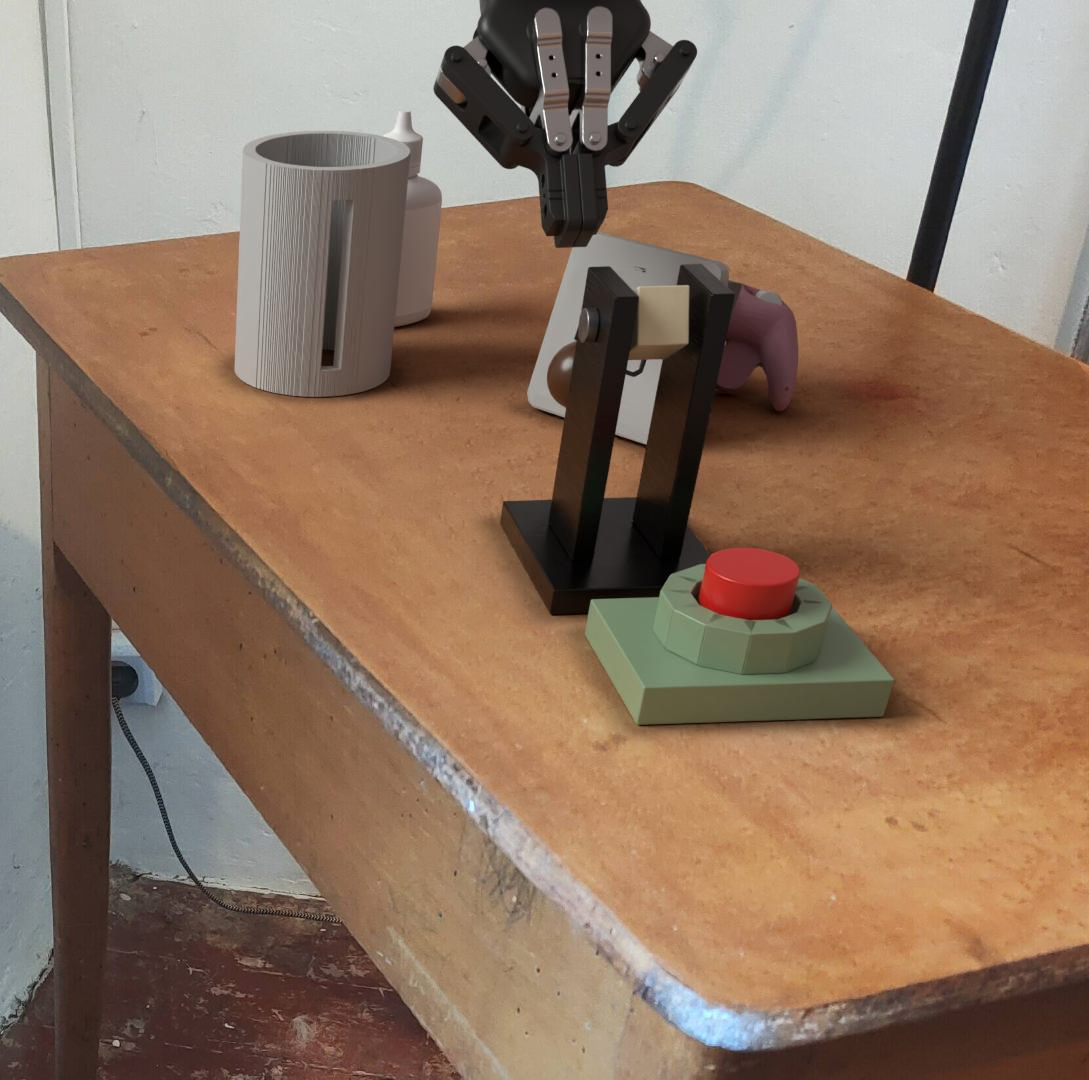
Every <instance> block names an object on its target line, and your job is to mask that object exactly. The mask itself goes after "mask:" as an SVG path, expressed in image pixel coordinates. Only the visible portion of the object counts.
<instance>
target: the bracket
mask: <svg viewBox="0 0 1089 1080" xmlns="http://www.w3.org/2000/svg"><path fill="white" fill-rule="evenodd" d="M677 285H689V287H690V291H689V343H688V345H686V346H684V347H683V348H681V349H680V350H678V351H677V352H675V353H674V354H672V355H671V356H669V357H668V358H666V359H663V360H662V365H661V370H660V376H659V381H658V386H657V391H656V397H655V402H654V407H653V413H652V418H651V423H650V429H649V434H648V439H647V445H646V444H645V449H644V450H645V451H644V455H643V456H644V457H643V461H642V467H641V472H640V477H639V482H638V488H637V492H636V496H629V497H626V496H625V497H605V494H606V489H607V482H608V478H609V472H610V466H611V460H612V454H613V449H614V444H615V438H616V434H615V432H616V427H617V421H618V415H619V410H620V404H621V398H622V393H623V387H624V381H625V375H626V370H627V364H628V358H629V353H630V347H631V341H632V336H633V330H634V324H635V319H636V313H637V307H638V302H639V296H638V295H637V294H636V293H635V292H634V291H633V290H632V289H631V288H630V287H629V286H628V285H627V284H626V283H625V281H624V280H623V279H622V278H621V277H620V276H619V275H618V274H617V273H616V272H615V271H614V270H613V269H612V268H611V267H610V266H604V267H589V268H588V272H587V278H586V284H585V291H584V297H583V304H582V310H581V314H580V318H579V325H578V335H577V342H576V348H575V355H574V361H573V367H572V374H571V380H570V387H569V393H568V399H567V406H566V412H565V417H564V420H563V426H562V432H561V438H560V444H559V445H560V446H559V450H558V458H557V466H556V470H555V476H554V483H553V488H552V489H553V490H552V495H551V496H552V497H551V499H530V500H529V499H527V500H503V501H502V505H501V515H500V521H499V525H500V526H501V528H502V530H503V532H504V533H505V535H506V538H507V540H508V541H509V543H510V544H511V546H512V549H513V550H514V552H515V554H516V556H517V558H518V559H519V561H520V563H521V564H522V566H523V568H524V570H525V572H526V573H527V575H528V577H529V579H530V581H531V582H532V584H533V586H534V588H535V590H536V592H537V593H538V595H539V598H540V600H541V601H542V602H543V604H544V606H545V608H546V610H547V611H548V613H549V615H577V614H581V615H582V614H588V613H589V607H590V602H591V600H592V599H618V598H650V597H659V595H660V591H661V589H662V588H663V586H664V584H665V583H666V581H667V579H668V578H669V576H670V575H671V574H673V573H676V572H679V571H682V570H685V569H688V568H691V567H694V566H697V565H700V564H706V562H707V559H708V558H709V557H710V556H711V555H712V554H711V553H710V552H709V550H708V549H707V548H706V546H705V545H704V544H703V543H702V541H701V540H700V539H699V538H698V536H697V535H696V534H695V532H694V531H693V529H691V526H689V524H688V523H689V518H690V514H691V509H692V505H693V500H694V493H695V489H696V485H697V480H698V476H699V471H700V465H701V461H702V456H703V451H704V447H705V441H706V437H707V432H708V427H709V422H710V417H711V412H712V409H713V403H714V399H715V395H716V394H715V393H716V390H717V389H716V384H717V379H718V375H719V370H720V365H721V360H722V356H723V351H724V346H725V344H726V336H727V332H728V327H729V322H730V317H731V312H732V308H733V303H734V298H735V294H734V293H733V292H732V291H731V290H730V289H729V288H728V287H727V286H726V285H724V284H723V283H722V282H721V281H720V280H719V279H718V278H717V277H716V276H715V275H713V274H712V273H711V272H710V271H709V270H708V269H707V268H706V267H705V266H704V265H702V264H682V265H680V269H679V274H678V280H677ZM677 285H676V286H677Z"/></svg>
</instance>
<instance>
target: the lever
mask: <svg viewBox="0 0 1089 1080" xmlns="http://www.w3.org/2000/svg"><path fill="white" fill-rule="evenodd" d="M689 291H690V287H689V285H677V286H642V287H638V288H637V289H635V290H634V292H635V293H636V294H637V295H638V296H639V302H638V307H637V313H636V319H635V324H634V330H633V336H632V341H631V347H630V353H629V358H628V360H652V359H666V358H668V357H669V356H671V355H672V354H674V353H675V352H677V351H678V350H680V349H681V348H683V347H684V346H686V345H688V343H689ZM576 342H577V341H574V342H572V343H569V344H567V345H565V346H564V347H563V348H561V349H560V350H559V351H558V352H557V353H556V354H555V356H554V357H553V359H552V360H551V362H550V365H549V368H548V372H547V385H548V389H549V392H550V394H551V396H552V397H553V398H554V400H555V401H556V402H557V403H559V404H560V405H562V406H563V407H565V408H566V406H567V399H568V393H569V387H570V380H571V374H572V367H573V361H574V355H575V348H576Z"/></svg>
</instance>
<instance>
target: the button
mask: <svg viewBox="0 0 1089 1080" xmlns="http://www.w3.org/2000/svg"><path fill="white" fill-rule="evenodd" d="M710 555H711V556H710V557H709V558H708V559H707V562H706V566H705V571H704V575H703V580H702V584H701V589H700V594H699V604H700V605H701V606H703V607H705V608H707V609H709V610H711V611H713V612H715V613H717V614H719V615H724V616H730V617H735V618H740V619H745V620H778V619H780V618H783V617H786V616H788V615H789V613H790V611H791V608H792V604H793V600H794V596H795V592H796V588H797V584H798V580H799V578H800V576H801V570H800V567H799V565H798V564H797V563H796V562H795V561H794V560H792V559H791V558H789V557H787V556H785V555H783V554H780V553H778V552H774V551H771V550H766V549H762V548H753V547H731V548H725V549H724V548H723V549H721V550H718V551H715V552H714V553H712V554H710Z"/></svg>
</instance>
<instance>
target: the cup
mask: <svg viewBox="0 0 1089 1080" xmlns="http://www.w3.org/2000/svg"><path fill="white" fill-rule="evenodd" d="M383 136H384V135H378V134H372V133H366V132H357V131H347V130H346V131H345V130H302V131H291V132H290V131H289V132H283V133H275V134H271V135H266V136H261V137H259V138H256V139H255V138H254V139H253V140H251V141H249V142H247V143H246V144H244V146H243V147H242V160H241V161H242V162H241V163H242V164H241V165H242V166H241V185H240V187H241V189H240V193H241V194H240V212H239V213H240V216H239V217H240V218H239V237H238V239H239V240H238V241H239V242H238V243H239V244H238V265H237V267H238V269H237V292H236V293H237V296H236V316H235V317H236V321H235V342H234V343H235V346H234V373H235V375H236V376H237V377H238V378H239V380H241V381H242V382H243V383H244V384H247V385H249V386H251V387H253V388H256V389H258V390H262V391H265V392H270V393H273V394H280V395H285V396H292V397H305V398H307V397H310V398H314V397H316V398H323V397H324V398H326V397H327V398H328V397H340V396H346V395H347V396H348V395H353V394H357V393H362V392H366V391H369V390H372V389H375V388H377V387H378V386H380V385H382V384H384V382H386V381H388V379H389V376H390V375H391V367H392V356H393V346H394V345H393V344H394V334H395V327H394V325H395V314H396V303H397V292H398V282H399V271H400V260H401V250H402V239H403V228H404V217H405V207H406V196H407V185H408V174H409V164H410V153H411V151H410V148H409V147H408V146H407V145H405V144H404V143H402V142H400V141H397V140H395V139H391V138H388V137H383ZM323 350H328V351H334V353H333V365H322V358H323V357H322V356H323Z"/></svg>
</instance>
